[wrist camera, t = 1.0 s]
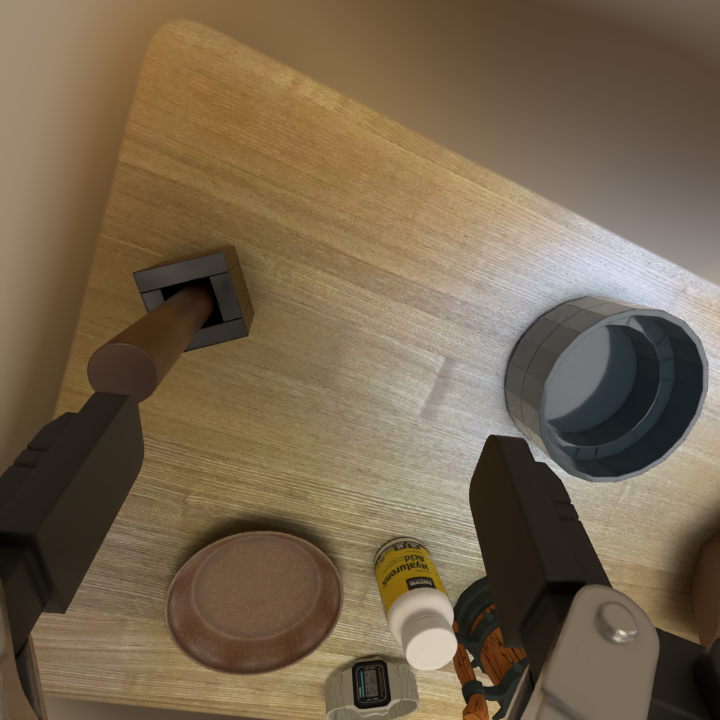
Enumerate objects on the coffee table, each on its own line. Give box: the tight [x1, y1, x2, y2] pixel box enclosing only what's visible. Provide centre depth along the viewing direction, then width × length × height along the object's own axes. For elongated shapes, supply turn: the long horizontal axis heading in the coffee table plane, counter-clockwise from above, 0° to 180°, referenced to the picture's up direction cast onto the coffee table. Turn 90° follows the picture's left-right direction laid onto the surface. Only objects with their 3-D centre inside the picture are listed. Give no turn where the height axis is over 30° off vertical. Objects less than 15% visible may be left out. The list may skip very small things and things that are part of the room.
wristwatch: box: [326, 656, 420, 720], centre depth 45 cm, size 9×6×5 cm
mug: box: [452, 577, 528, 720], centre depth 42 cm, size 13×10×12 cm
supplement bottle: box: [374, 538, 457, 671], centre depth 39 cm, size 5×5×10 cm
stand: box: [133, 245, 254, 352], centre depth 31 cm, size 5×5×7 cm
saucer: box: [164, 530, 343, 676], centre depth 41 cm, size 15×15×3 cm
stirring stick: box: [87, 276, 218, 403], centre depth 25 cm, size 2×2×20 cm
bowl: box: [505, 297, 708, 482], centre depth 39 cm, size 14×14×6 cm
